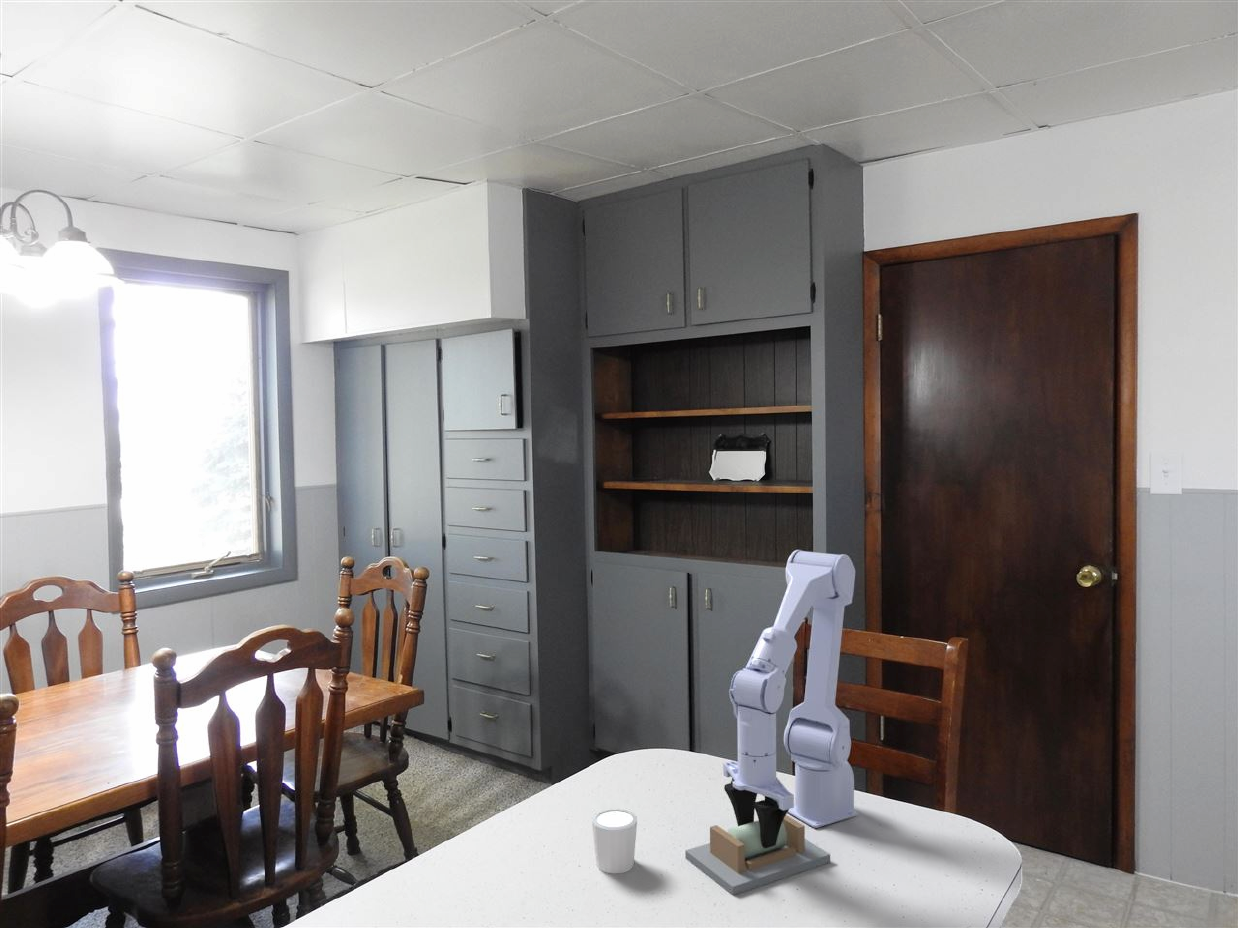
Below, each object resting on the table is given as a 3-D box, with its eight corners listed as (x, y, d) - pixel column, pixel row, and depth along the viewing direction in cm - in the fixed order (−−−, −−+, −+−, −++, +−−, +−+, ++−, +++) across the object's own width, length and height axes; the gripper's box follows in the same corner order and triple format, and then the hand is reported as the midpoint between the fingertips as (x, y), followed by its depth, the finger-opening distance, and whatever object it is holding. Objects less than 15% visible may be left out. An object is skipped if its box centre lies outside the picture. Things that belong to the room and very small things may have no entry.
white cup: (633, 877, 129) (632, 830, 129) (587, 873, 130) (586, 826, 130) (641, 854, 136) (641, 809, 135) (597, 850, 137) (597, 806, 137)
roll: (769, 839, 138) (769, 810, 137) (788, 851, 134) (788, 822, 133) (725, 852, 134) (725, 823, 133) (743, 865, 130) (743, 836, 129)
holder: (778, 829, 143) (778, 798, 143) (830, 861, 133) (830, 828, 132) (685, 857, 135) (685, 824, 134) (732, 894, 124) (732, 858, 124)
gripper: (707, 739, 137) (707, 824, 138) (766, 771, 124) (766, 865, 125) (743, 730, 140) (744, 814, 141) (805, 761, 128) (805, 853, 129)
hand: (757, 837), depth 133 cm, fingers open, 5 cm apart
